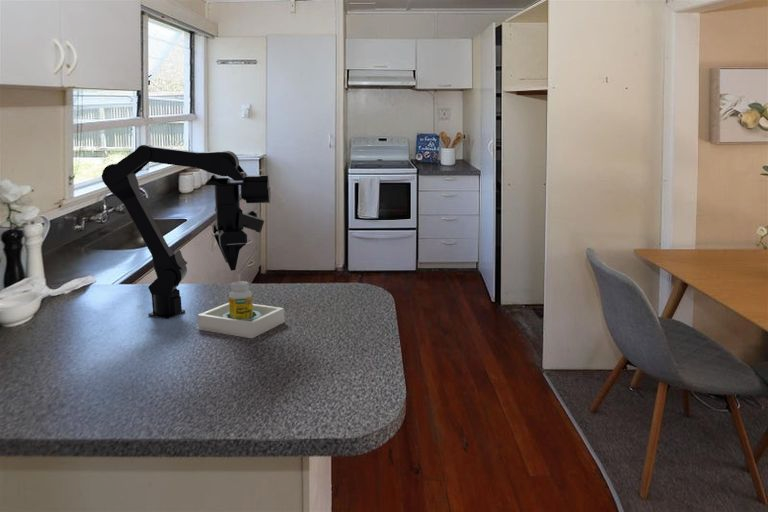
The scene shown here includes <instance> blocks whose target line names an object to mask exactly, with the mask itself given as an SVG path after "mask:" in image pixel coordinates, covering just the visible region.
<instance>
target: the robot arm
mask: <svg viewBox="0 0 768 512" xmlns="http://www.w3.org/2000/svg"><path fill="white" fill-rule="evenodd" d="M239 160H240V159H239V158H238V156H237V155H236V153H235V152H233V151H230V150H217V151H216V150H212V151H194V150H187V149H179V148H173V147H172V148H170V147H164V146H163V147H162V146H155V145H151V144H148V143H147V144H141V145H139V146H137V148H136V149H134V151H132V152H131V153H130V154H128V155H127V156H125V157H124V158H122V159H121V160H119V161H118V162H115V163H112V164H111V163H110V164H108V165H106V167H104V169H103V170H102V174H101V180H102V183H104V185H105V186H106V188H107V189H108V190H109V191H110V193H111V194H112V195H113V196H115V198H117V199H118V201H120V202H121V204H123V206H124V208H125V210H126V211H127V214H128V215H129V217H130V218H131V221H132V222H133V223H134V226H135V227H136V230H137V231H138V233H139V234H140V236H141V238H142V240H143V242H144V244H145V246H146V248H147V249H148V250H149V253H150V254H151V258H152V263H153V269H154V272H155V275H156V278H155V280H153V282H151V283H150V284H149V285H148V290H149V292H150V294H151V301H152V302H151V304H152V306H151V307H152V311H151V312H149V313H148V317H153V318H154V317H155V318H161V319H168V320H169V319H171V318H174V317H176V316H179V315H181V314H182V315H183V313H184V314H185V313H186V309H183V307H182V296H181V293H180V289H178V288H177V287H179V285H180V283H181V282H182V281H183V280H184V279H185V277H186V275H187V272H188V268H187V265H188V261H186V260H185V258H184V257H183V255H182V252H181V250H180V249H177V250H176V251H174V250H173V249H172V248H171V247H170V246H169V245H168V243H167V241H166V239H165V237H164V236H163V234H162V232H161V230H160V229H159V226H158V225H157V223H156V222H155V221H156V220H154V217H153V215H152V214H151V212H150V210H149V208H148V206H147V205H146V203H145V201H144V199H143V197H142V195H141V191H140V186H139V185H140V184H139V182H138V177H137V174H138V173H139V172H140V171H142V169H144V168H145V167H146V166H147V165H148V164H149V163H156V164H163V165H164V164H165V165H171V166H180V167H188V168H189V167H190V168H194V169H199V170H202V171H204V172H207V173H210V174H211V177H210V178H209V179H208V180H207V181H206V182H205V185H206V186H214V199H215V201H214V202H215V206H214V212H215V221H214V222H213V224H211V227H212V229H211V230H212V234H213V237H214V240H215V241H216V243H217V246H218V248H219V250H220V253H221V254H222V256H223V259H224V261H225V263H226V264H227V265H228V268H229V270H230V271H236V269H237V265H238V259H239V254H240V251H241V249H242V248H243V247H245V246H246V245H247V244H248V234H247V233H246V232H245V231H244V228H246V229H249V230H251V231H255V232H257V233H261V232H262V229H263V228H264V224H265V220H264V219H263V218H262V217H259V216H258V213H257V212H256V211H253V210H251V209H250V210H249V211H248V212H247V213H245V212H243V209H242V208H241V206H240V205H241V204H240V203H241V202H240V196H241V200H243V201H245V202H246V204H270V203H271V196H272V195H271V192H272V191H271V187H270V181H269V175H268V174H262V175H261V174H260V175H248V174H247V172H246V171H245V170H244V169H243V167H241V166H240V161H239ZM212 174H213V175H212ZM216 175H217V176H220V177H217V176H216ZM230 179H232V180H233V181H231V180H230ZM239 188H240V189H239Z"/></svg>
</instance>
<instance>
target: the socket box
mask: <svg viewBox="0 0 768 512" xmlns="http://www.w3.org/2000/svg"><path fill="white" fill-rule="evenodd" d="M197 322H198V323H197V324H198V330H201V331H207V332H212V333H217V334H218V333H219V334H223V335H230V336H236V337H241V338H248V339H254V338H255V337H257V336H260V335H261V334H265V333H266V332H267V331H271V330H272V329H274V328H276V327H278V326H279V325H281V324H284V323H285V308H284V307H278V306H271V305H264V304H257V303H256V304H255V303H253V317H252V318H250V319H240V320H238V319H231V318H230V308H229V302H226V303H224V304H222V305H219V306H216V307H214V308H211V309H209V310H207V311H204V312H201V313H199V314H197Z"/></svg>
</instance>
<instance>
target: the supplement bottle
mask: <svg viewBox="0 0 768 512" xmlns="http://www.w3.org/2000/svg"><path fill="white" fill-rule="evenodd" d="M249 283H250V282H249V281H246V280H237V281H233V282H231V284H230V289H231V290H232V291H230V292H229V293H228V303H229V308H230V318H231V319H238V320H240V319H250V318H252V317H253V304H254V302H253V293H252V291H251V290H250V289H249V287H250V284H249Z"/></svg>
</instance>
